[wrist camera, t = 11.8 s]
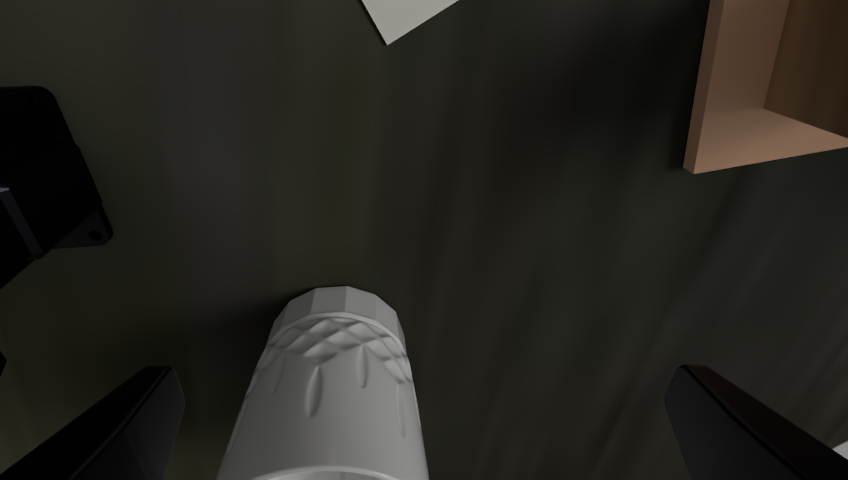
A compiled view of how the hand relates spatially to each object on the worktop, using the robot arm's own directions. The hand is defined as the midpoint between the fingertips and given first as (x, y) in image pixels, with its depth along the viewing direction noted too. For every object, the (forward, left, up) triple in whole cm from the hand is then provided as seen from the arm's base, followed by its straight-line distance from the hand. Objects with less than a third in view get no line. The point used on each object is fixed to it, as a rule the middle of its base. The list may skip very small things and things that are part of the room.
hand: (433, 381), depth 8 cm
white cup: (-4, -10, -13) cm, 17 cm away
